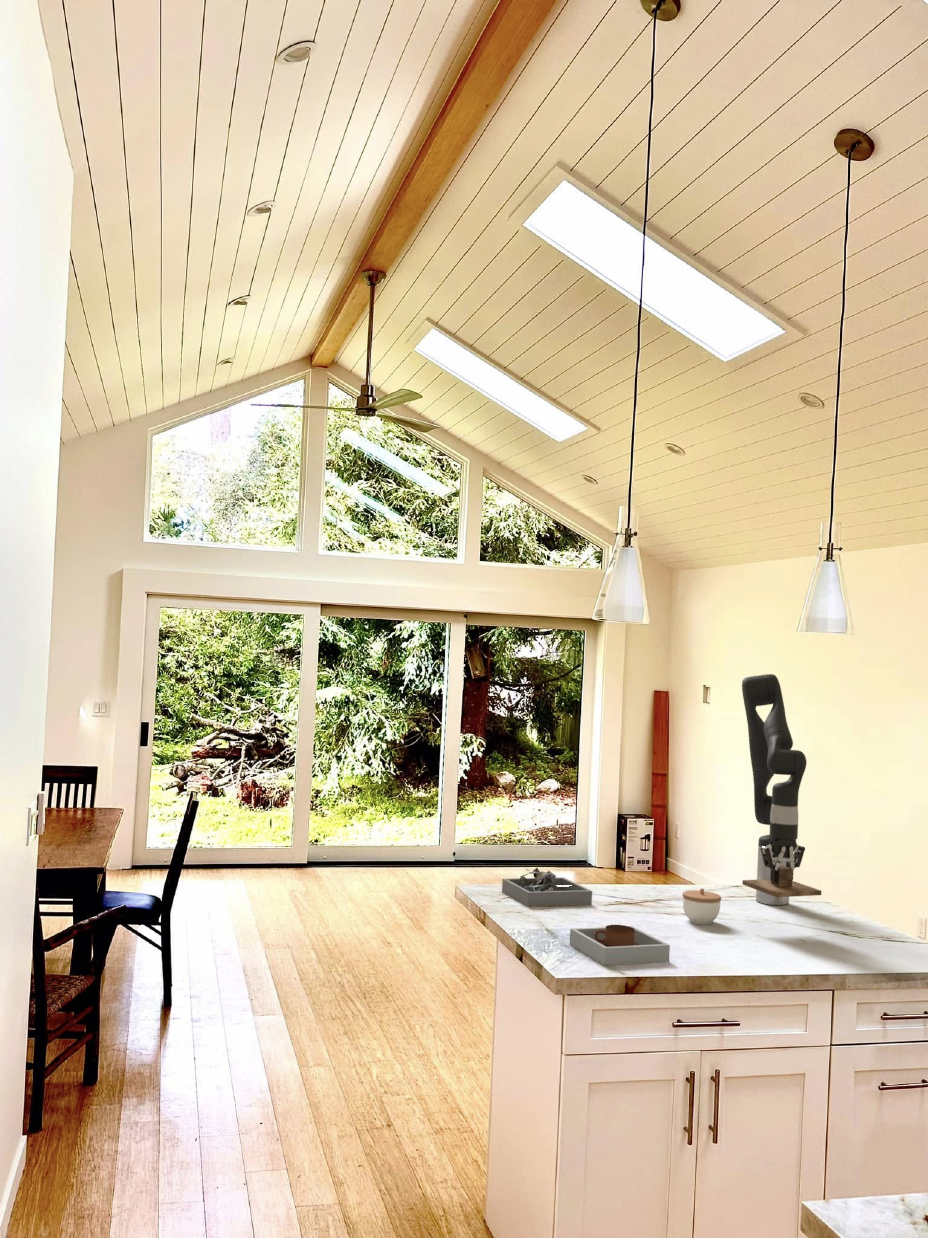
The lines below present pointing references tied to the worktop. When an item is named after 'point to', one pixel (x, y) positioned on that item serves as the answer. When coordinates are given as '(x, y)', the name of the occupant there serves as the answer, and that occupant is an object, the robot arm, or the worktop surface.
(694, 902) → the lidded jar
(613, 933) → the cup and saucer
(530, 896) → the foil frame
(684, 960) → the worktop surface
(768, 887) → the walnut lid
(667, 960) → the grey square tray
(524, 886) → the foil
